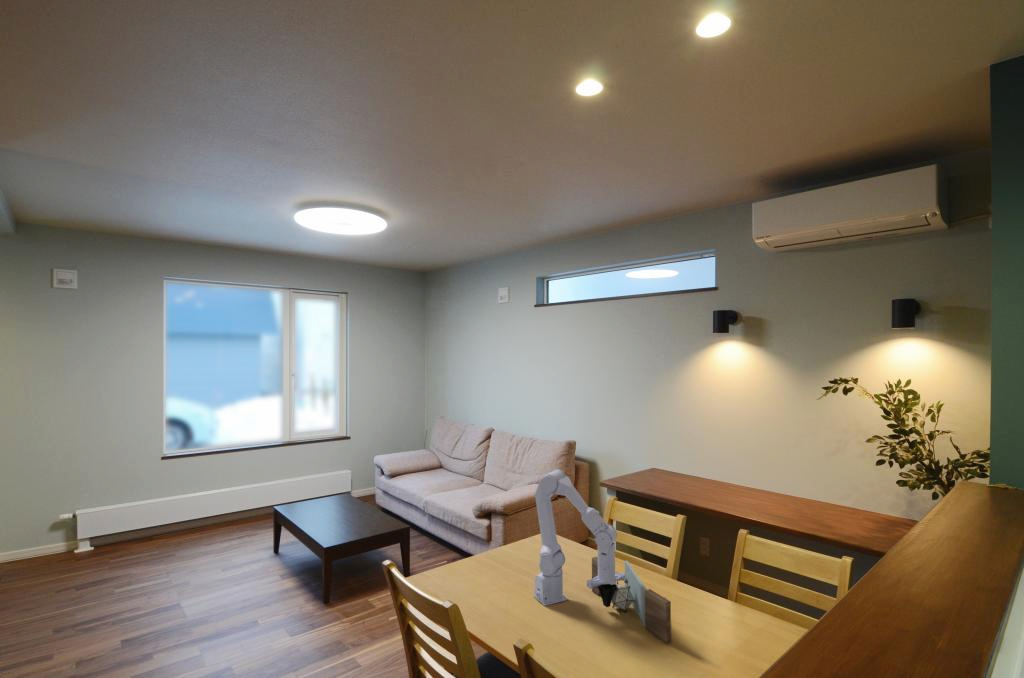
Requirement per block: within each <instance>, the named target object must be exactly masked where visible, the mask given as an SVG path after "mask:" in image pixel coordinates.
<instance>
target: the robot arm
mask: <svg viewBox="0 0 1024 678" xmlns="http://www.w3.org/2000/svg"><path fill="white" fill-rule="evenodd" d="M537 483H538V485H537V487H536V491H535V493H534V499H535V504H536V511H537V517H538V524H539V531H540V539H541V544H542V546H541V549H540V553H539V557H540V558H539V562H538V569H540V573H539V574H536V575H535V577H534V594H533V597H534V598H535V599H536V600H537V601H538V602H539V603H540V604H542V605H543V606H544V607H545V606H550V605H554V604H558V603H562V602H565V601H568V597H566V595H564V593H563V591H564V590H563V588H564V585H563V583H564V582H563V581H564V580H563V575H564V574H563V572H564V571H563V566H564V565H565V562H566V556H565V554H564V552H563V549H562V546H561V544H560V543H559V542H558V538H557V532H556V525H555V517H554V510H553V506H552V497H553V495H558V496H559V495H560V496H565V497H566V499H568V501H569V502H570V503H571V504H572V505H573V506H574V507H575V508H576V509H577V510H578V512H580V516H581V521H582V522H583V524H585V526H586V527H587V528H588V530H590V533H592V534H593V536H594V541H595V544H596V545H597V557H598V576H596V577H594V578H592V577H591V579H588V580H586V587H587V588H588V589H590V590H592V588H593V587H596V586H597V587H598V589H599V591H600V594H601V601H602V605H603V606H604V607H606V608H609V607H611V603H612V597H613V594H614V592H615V590H616V589H617V582H620V581H623V582H624V581H625V580H626V575H625V572H616V549H615V548H616V545H615V544H616V543H615V542H616V540H617V538H618V533H617V531H616V529H615V527H614V526H612V525H611V524H609V522H606V521H605V520H604V519H603V517H602V516H601V515H600V514H601V513H600V512H599V510H597V509H595V508H593V507H590V506H588V503H586V501H585V500H584V499H583V497H582V496H581V494H580V493H579V492H578V490H577V489H576V487H575V486H574V484H573V483H572V481H571V479H570V477H569V476H568V475H566V473H565V472H564V470H562V469H560V468H558V469H557V468H556V469H554V470H552V471H550V472H548V473H546V474H544V475H542V476H541V478H539V480H538V482H537Z"/></svg>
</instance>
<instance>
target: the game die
mask: <svg viewBox="0 0 1024 678" xmlns="http://www.w3.org/2000/svg"><path fill="white" fill-rule="evenodd" d="M616 585H617V589H616V590H615V592H614V594H613V597H612V600H611V603H612V606H611V608H612V609H615V608H617V609H619V610H622V611H624V613H625V614H627V611H626V610H627V609H628V608H629V607H630V606H631V605H632V602H633V601H634V602H635V600H633V597H632V594H631V592H630V589H629V588H630V586H629V587H625V585H622V584H619V581H616Z"/></svg>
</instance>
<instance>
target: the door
mask: <svg viewBox="0 0 1024 678" xmlns="http://www.w3.org/2000/svg"><path fill="white" fill-rule="evenodd" d="M624 574H625V575H626V580H625V581H623V582H624V586H625V587H629V586H630V588H629V589H630V592H631V594H632V597H633V600H635V602H634V601H633V602H632V604H631V605H632V606H633V609H634V610H635V613H636V614H637V615H638V618H639V619H640V621H641V622H642V624H643V626H644V627H645V590H648V589H647V588H646V586H645V585H644V583H643V582H642V580H641V579H640V577H639V576H638V574H637V573H636V571H635V569H634V568H633V566H632V565H631V563H630V562H629V561H628V560H624Z"/></svg>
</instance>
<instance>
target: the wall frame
mask: <svg viewBox="0 0 1024 678" xmlns="http://www.w3.org/2000/svg"><path fill="white" fill-rule="evenodd" d="M596 576H598V556H593V557H591V579H592V578H594V577H596ZM591 592H592V593H594V594H595V595H596V596H598V597H600V596H601V594H600V591H599V589H598V587H597V586H596V587H593V588H592V589H591ZM671 602H672V601H671V600H668V599H667V598H666V597H664V596H662V595H660V594H659V593H657V592H655V591H654V590H652V589H651V588H649V589H647V590H645V626H644V629H645V630H646V631H647V632H648V633H650V634H651V635H652V636H654V637H655V638H656V639H658V640H659V641H660V642H662V643H663V644H664V645H669V644H672V617H671V616H672V614H671V613H672V611H671V607H672V606H671V605H672V604H671Z"/></svg>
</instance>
